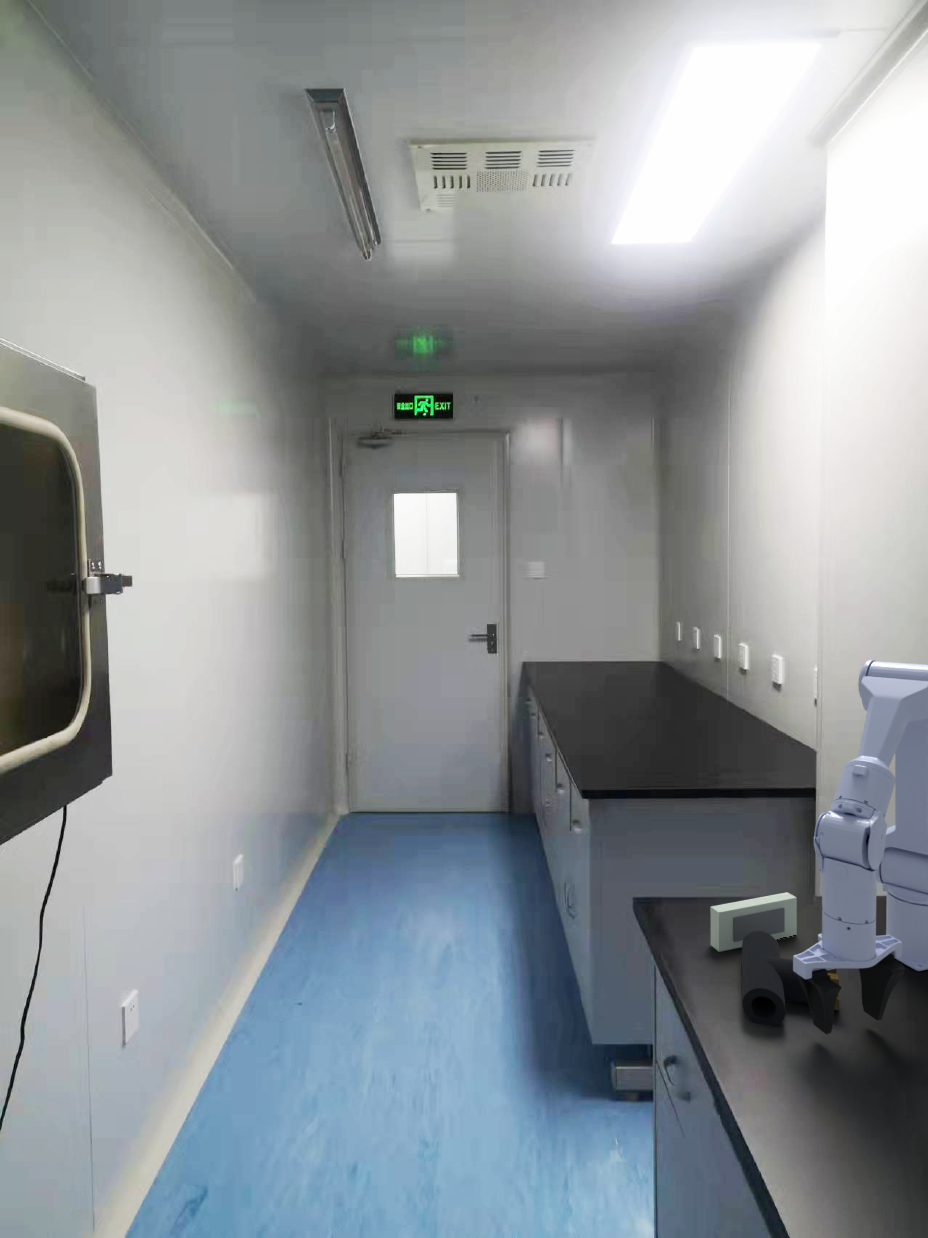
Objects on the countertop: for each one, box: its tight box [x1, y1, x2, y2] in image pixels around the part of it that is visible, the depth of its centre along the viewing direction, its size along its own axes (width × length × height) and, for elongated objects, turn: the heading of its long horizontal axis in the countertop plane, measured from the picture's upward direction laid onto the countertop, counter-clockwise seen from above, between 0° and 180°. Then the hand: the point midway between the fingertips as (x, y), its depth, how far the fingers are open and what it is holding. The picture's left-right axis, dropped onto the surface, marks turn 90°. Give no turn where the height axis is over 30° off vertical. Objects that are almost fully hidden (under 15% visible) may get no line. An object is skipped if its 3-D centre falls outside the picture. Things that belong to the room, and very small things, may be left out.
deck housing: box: [710, 891, 798, 953], centre depth 110 cm, size 14×2×6 cm, turn 107°
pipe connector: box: [741, 931, 841, 1028], centre depth 96 cm, size 12×5×15 cm
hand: (847, 1022), depth 88 cm, fingers open, 7 cm apart
